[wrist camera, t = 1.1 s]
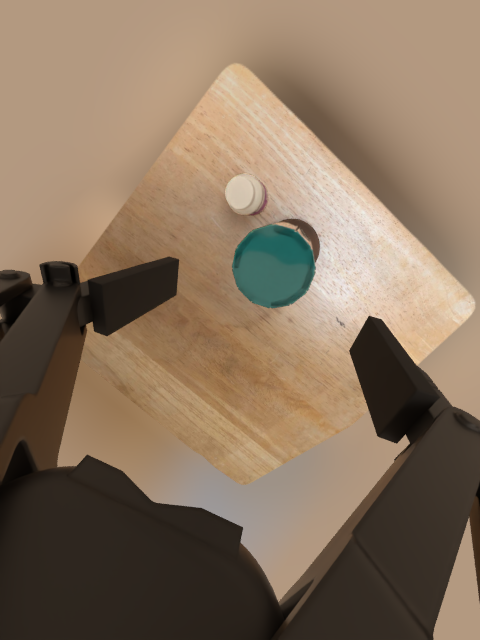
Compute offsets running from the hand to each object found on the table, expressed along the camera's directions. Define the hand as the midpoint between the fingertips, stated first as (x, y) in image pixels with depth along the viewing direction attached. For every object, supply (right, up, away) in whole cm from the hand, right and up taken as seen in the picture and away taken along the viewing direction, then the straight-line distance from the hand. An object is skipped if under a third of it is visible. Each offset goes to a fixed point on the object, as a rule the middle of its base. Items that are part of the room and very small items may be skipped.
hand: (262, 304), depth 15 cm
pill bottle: (+1, +20, +23) cm, 30 cm away
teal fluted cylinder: (+4, +8, +15) cm, 18 cm away
